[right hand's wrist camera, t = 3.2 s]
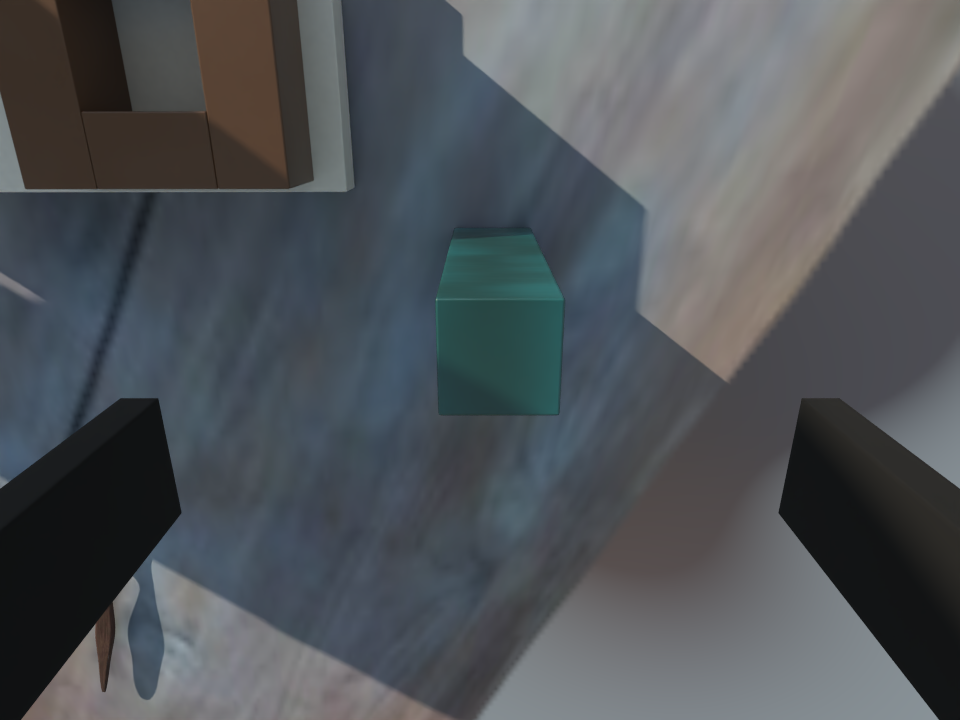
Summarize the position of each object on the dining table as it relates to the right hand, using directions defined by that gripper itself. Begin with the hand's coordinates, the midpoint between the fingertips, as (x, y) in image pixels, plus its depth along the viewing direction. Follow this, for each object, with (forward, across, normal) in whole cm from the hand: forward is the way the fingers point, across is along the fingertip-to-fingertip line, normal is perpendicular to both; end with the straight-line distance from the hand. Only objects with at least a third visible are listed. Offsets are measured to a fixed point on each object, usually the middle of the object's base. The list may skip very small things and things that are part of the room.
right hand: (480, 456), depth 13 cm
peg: (+21, -1, 0) cm, 21 cm away
